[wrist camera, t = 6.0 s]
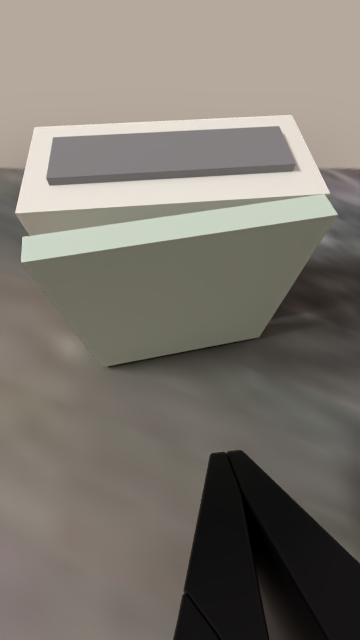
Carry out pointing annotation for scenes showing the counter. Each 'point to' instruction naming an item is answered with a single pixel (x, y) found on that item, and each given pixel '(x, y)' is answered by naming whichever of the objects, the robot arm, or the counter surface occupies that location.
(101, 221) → the box
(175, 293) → the door
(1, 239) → the counter surface
